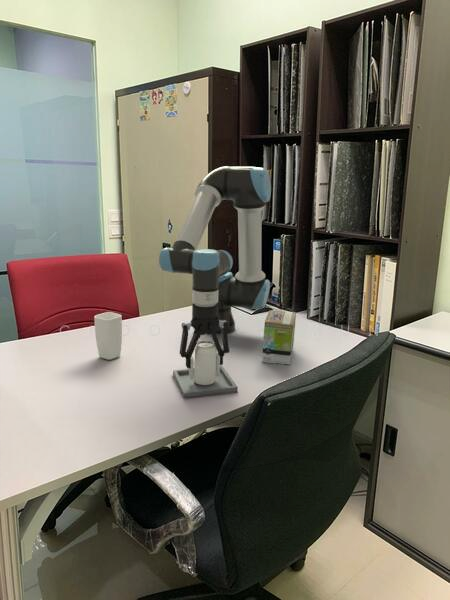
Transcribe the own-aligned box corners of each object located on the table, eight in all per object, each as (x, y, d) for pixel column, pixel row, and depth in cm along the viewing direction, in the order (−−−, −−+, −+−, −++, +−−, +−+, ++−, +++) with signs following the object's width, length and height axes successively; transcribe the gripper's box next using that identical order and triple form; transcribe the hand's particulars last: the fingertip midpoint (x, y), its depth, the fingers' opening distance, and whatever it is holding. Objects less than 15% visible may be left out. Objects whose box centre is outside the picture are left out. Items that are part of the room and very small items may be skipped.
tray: (173, 375, 146) (173, 370, 146) (221, 370, 151) (221, 365, 150) (184, 399, 131) (184, 393, 131) (237, 392, 136) (237, 386, 136)
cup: (125, 356, 160) (123, 315, 156) (109, 363, 154) (107, 320, 150) (110, 351, 164) (108, 311, 160) (94, 357, 158) (92, 316, 154)
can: (193, 376, 144) (195, 340, 141) (214, 377, 144) (216, 340, 141) (193, 385, 137) (195, 347, 134) (215, 386, 138) (217, 348, 135)
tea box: (290, 365, 156) (293, 324, 152) (261, 362, 158) (263, 321, 154) (293, 349, 170) (296, 311, 166) (266, 347, 172) (268, 308, 168)
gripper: (173, 309, 128) (173, 385, 134) (242, 304, 134) (240, 377, 140) (168, 302, 135) (168, 374, 141) (234, 298, 141) (232, 367, 147)
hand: (204, 375), depth 140 cm, fingers open, 7 cm apart
